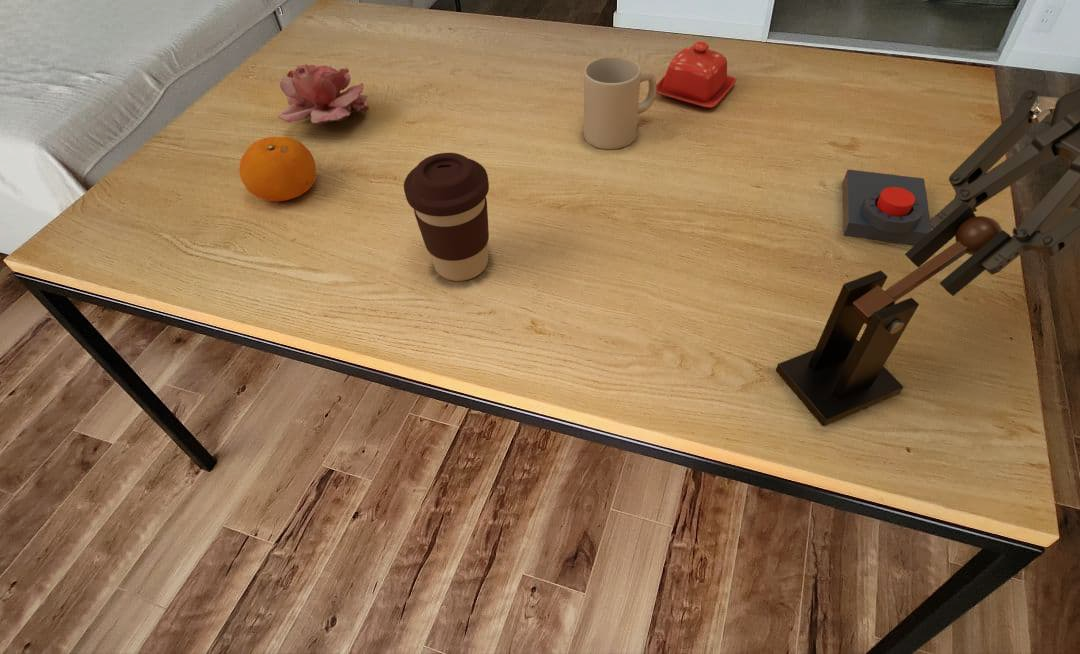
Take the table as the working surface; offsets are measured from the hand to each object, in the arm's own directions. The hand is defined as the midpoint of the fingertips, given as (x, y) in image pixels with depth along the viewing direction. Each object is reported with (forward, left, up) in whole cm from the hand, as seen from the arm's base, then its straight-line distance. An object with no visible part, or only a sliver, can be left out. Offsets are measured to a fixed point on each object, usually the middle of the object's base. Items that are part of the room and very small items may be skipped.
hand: (929, 274), depth 61 cm
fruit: (+14, +83, -14) cm, 86 cm away
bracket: (-3, +4, -14) cm, 15 cm away
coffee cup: (+5, +51, -14) cm, 53 cm away
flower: (+33, +86, -14) cm, 93 cm away
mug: (+40, +37, -14) cm, 56 cm away
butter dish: (+55, +27, -14) cm, 63 cm away
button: (+24, -2, -10) cm, 26 cm away
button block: (+28, -2, -14) cm, 31 cm away
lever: (0, 0, -1) cm, 1 cm away
